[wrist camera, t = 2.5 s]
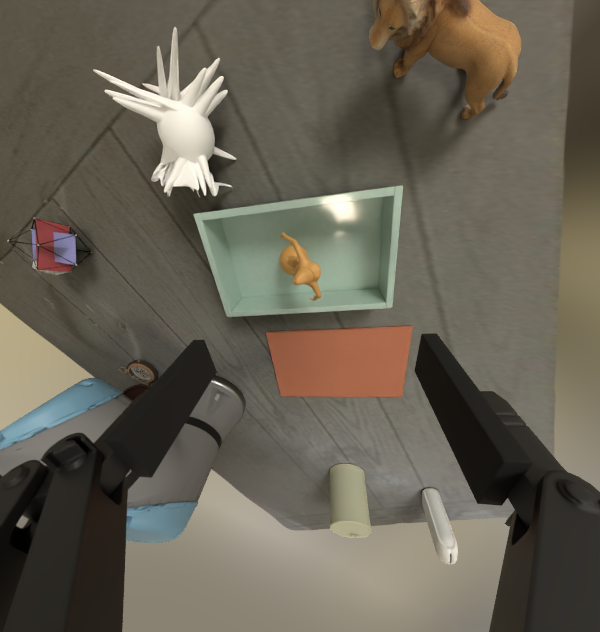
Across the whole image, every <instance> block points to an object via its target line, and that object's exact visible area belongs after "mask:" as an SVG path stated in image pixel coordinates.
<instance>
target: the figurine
mask: <svg viewBox="0 0 600 632" xmlns="http://www.w3.org/2000/svg"><path fill="white" fill-rule="evenodd" d="M280 237H282V238H281V240H282V239H283V238H285V239H286V240H287V241H288V242H290V243H291V244H292V245H289V246H287V247H285V248H284V249H283V250H282V252H281V254H280V257H279V263H280V266H281V268H282V270H283V271H284V272H285V273H287V274H289V275H294V278H293V280H292V281H293V284H295V285H302V284H305V285H308V286H310V287H311V288H312V289H313V291H314V293H315V294H316V296H314V298H309V299H311V300H313V301H315V300H317V299H318V298H321V292H320V290H319V287H318V283H317V282H318V279H319V278H320V275H321V269H320V267H319V265H318V264H317V263H315V262H312V261H309V256H308V253H307V252H306V250H305V249H304V248H303V247H301V246H300V245H299V244H298V242H297V241H296V240H295V239H293V238H291V237H290V236H288V235H286V234H285V233H284V232H282V234H281V236H280Z"/></svg>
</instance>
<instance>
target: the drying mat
mask: <svg viewBox="0 0 600 632" xmlns="http://www.w3.org/2000/svg"><path fill="white" fill-rule="evenodd" d="M411 334H412V326H392V327H368V328H345V329H322V330H298V331H275V332H266V336H267V340H268V344H269V348H270V352H271V357H272V361H273V365H274V369H275V373H276V378H277V382H278V386H279V390H280V394H281V396H326V397H402V394H403V388H404V381H405V374H406V367H407V361H408V354H409V347H410V341H411Z"/></svg>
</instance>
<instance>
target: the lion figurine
mask: <svg viewBox="0 0 600 632" xmlns="http://www.w3.org/2000/svg"><path fill="white" fill-rule="evenodd" d="M372 1H373V9H374V11H375V18H376V19H375V22H374V24H373V25H372V27H371V29H370V31H369V40H370V44H371V46H372V48H373V49H376V50H380V49H382V48H383V47H384V45H385V44H386V42H387V40H388V39H389V40H394V42H395V45H396V46H397V45H398V46H399V47H400V48H402V49H403V50H405V54H404V58H400V59H399V60H398V61H397V63H396V64H395V65H394V74H395V77H396V78H398V77H401V76H403V75H404V74H406V73H407V72H408V71H409V69H410V68H411V67H412V66H413V63H414V62H416V61H417V60H418V59H420V58H422V57H424V56H425V54H426V53H427V52H429V53H430V54H431V55H432V56H433V57H434V58H435V59H437V60H438V61H440V62H442V63H443V64H445V65H447V66H450V67H453V68H459V69H463V70H465V71H466V73H467V80H466V85H465V98H466V101H467V103H468V105H466V106H465V107H464V108H463V111H462V118H463V119H471V118H473V117H474V116H476V115H477V114H479V113H480V112H481V111H482V110H483V109H484V108H485V103H484V99H485V97H486V95H487V94H488V93H489V92H490V91H491V90H492V89H494V88H495V87H496V86H497V85H498V84H499V83H500V81H501V80H503V81H502V82H501V84H500V85H499V87H498V88H497V89H496V91H495V92H494V94H493V98H494V99H495V98H496V99H497V100H499V99H503V98H505V97H506V96H507V94H508V92H509V91H507V90H506V89H507V88H508V86H509V85H510V84H511V82H512V80H513V78H514V76H515V74H516V71H517V65H518V56H519V54H520V50H521V38H520V36H519V33H518V31H517V28H516V26H515V25H514V24H513V23H511V22H510V21H507V20H504V19H502V18H500V17H497V16H496V15H494V14H493V13H492V12H491V11H490V10H489V9H487V8H486V7H485V6H484V5H483V4H482V3H481V2H480V1H479V0H372Z"/></svg>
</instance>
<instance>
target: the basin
mask: <svg viewBox="0 0 600 632" xmlns="http://www.w3.org/2000/svg"><path fill="white" fill-rule="evenodd" d="M402 193H403V186H402V185H400V186H387V187H380V188H372V189H365V190H358V191H351V192H343V193H336V194H329V195H321V196H314V197H307V198H300V199H292V200H285V201H278V202H271V203H263V204H256V205H249V206H242V207H234V208H227V209H220V210H213V211H207V212H202V213H196V214H193V215H194V218H195V221H196V224H197V227H198V230H199V233H200V236H201V239H202V242H203V245H204V248H205V251H206V254H207V258H208V261H209V264H210V267H211V270H212V273H213V276H214V279H215V282H216V285H217V288H218V291H219V294H220V297H221V300H222V303H223V306H224V309H225V313H226V316H227V317H238V316H256V315H274V314H292V313H310V312H329V311H347V310H365V309H383V308H392V303H393V292H394V281H395V270H396V259H397V248H398V237H399V226H400V215H401V204H402ZM282 232H284V233H285V234H286V235H288V236H290V237H291V238H293V239H295V240H296V241H297V242H298V244H299V245H300V246H301V247H303V248H304V249H305V250H306V252H307V253H308V256H309V261H312V262H315V263H317V264H318V265H319V267H320V269H321V275H320V278H319V279H318V282H317V283H318V287H319V290H320V292H321V298H318V299H317V300H315V301H313V300H311V299H309V298H314V296H316V294H315V293H314V291H313V289H312V288H311V287H310V286H308V285H305V284H302V285H295V284H293V281H292V280H293V278H294V275H289V274H287V273H285V272H284V271H283V270H282V268H281V266H280V263H279V257H280V254H281V252H282V250H283V249H284V248H285V247H287V246H289V245H292V244H291V243H290V242H288V241H287V240H286V239H285V238H283V239H282V240H281V238H282V237H280V236H281V234H282Z"/></svg>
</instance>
